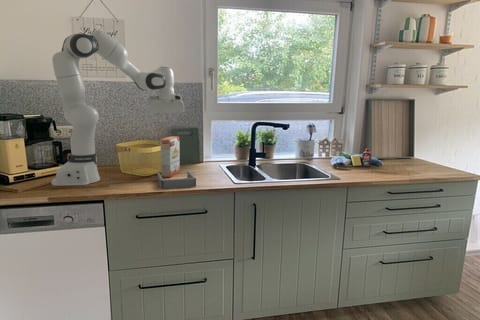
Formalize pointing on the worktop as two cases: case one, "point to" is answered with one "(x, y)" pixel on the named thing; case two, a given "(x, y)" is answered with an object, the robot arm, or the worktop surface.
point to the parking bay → (177, 181)
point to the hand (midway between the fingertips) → (166, 120)
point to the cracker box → (170, 156)
